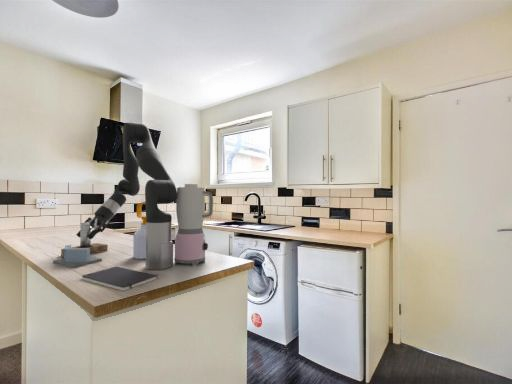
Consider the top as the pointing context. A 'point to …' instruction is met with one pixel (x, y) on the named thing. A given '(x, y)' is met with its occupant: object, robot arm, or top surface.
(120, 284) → the notebook
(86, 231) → the axle
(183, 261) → the blender
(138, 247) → the soap bottle
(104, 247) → the beam
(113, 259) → the top surface
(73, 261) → the v block
